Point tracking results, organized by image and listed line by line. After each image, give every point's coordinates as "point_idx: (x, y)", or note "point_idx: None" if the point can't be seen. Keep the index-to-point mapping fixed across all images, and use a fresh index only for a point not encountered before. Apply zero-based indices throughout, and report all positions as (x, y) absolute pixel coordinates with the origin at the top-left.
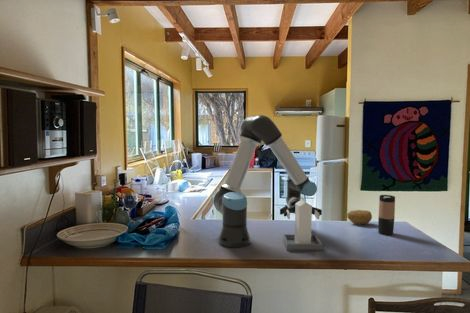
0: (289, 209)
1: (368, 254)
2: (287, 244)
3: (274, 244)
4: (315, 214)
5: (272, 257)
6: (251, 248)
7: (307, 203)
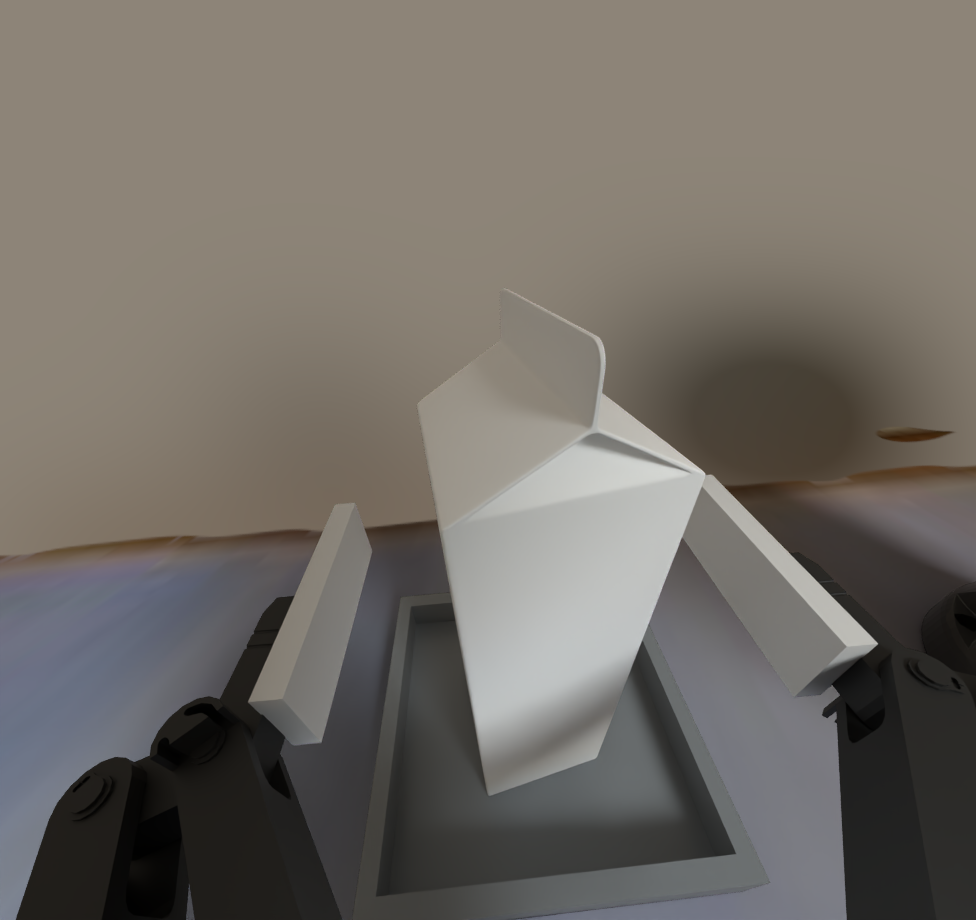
0: (903, 809)
1: (169, 608)
2: None
3: (751, 714)
4: (330, 649)
5: None
6: None
7: (479, 356)
